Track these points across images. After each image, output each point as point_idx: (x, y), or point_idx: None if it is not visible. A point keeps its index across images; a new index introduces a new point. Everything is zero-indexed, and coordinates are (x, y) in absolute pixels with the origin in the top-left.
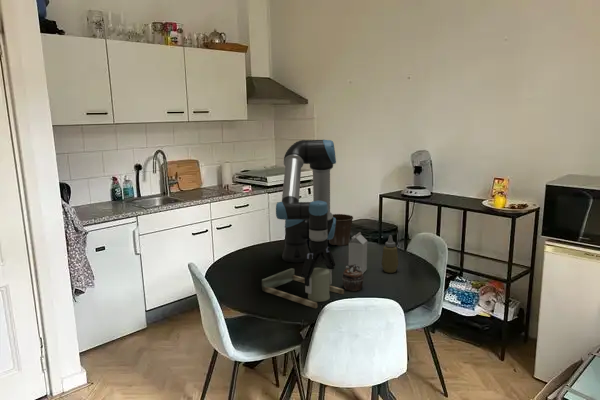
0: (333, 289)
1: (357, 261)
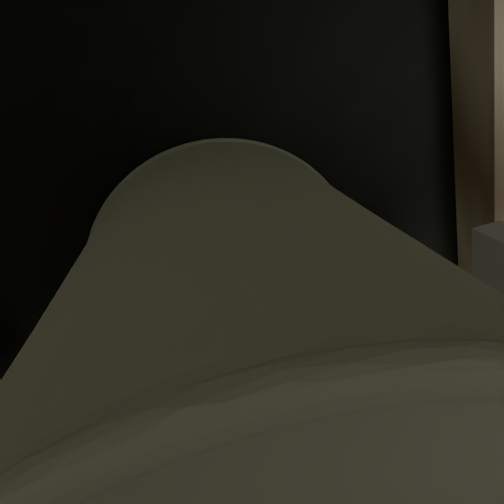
0: None
1: None
